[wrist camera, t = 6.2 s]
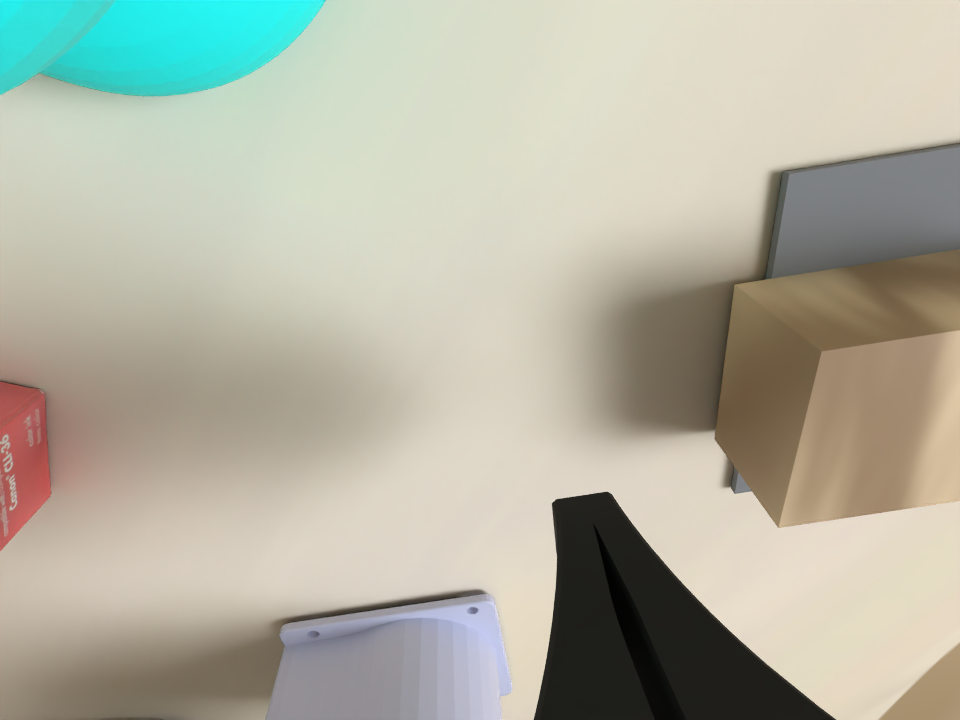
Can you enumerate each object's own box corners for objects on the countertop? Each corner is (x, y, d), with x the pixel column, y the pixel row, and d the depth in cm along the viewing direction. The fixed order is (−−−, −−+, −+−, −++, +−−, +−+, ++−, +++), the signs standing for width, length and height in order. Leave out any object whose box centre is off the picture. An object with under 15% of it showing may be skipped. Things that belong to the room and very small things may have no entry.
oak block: (778, 528, 15) (1055, 486, 15) (821, 351, 12) (1173, 297, 11) (714, 439, 18) (938, 404, 18) (734, 284, 15) (1005, 241, 15)
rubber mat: (730, 488, 20) (735, 493, 20) (782, 171, 14) (789, 173, 13) (985, 449, 20) (993, 454, 19) (1155, 112, 14) (1168, 113, 13)
